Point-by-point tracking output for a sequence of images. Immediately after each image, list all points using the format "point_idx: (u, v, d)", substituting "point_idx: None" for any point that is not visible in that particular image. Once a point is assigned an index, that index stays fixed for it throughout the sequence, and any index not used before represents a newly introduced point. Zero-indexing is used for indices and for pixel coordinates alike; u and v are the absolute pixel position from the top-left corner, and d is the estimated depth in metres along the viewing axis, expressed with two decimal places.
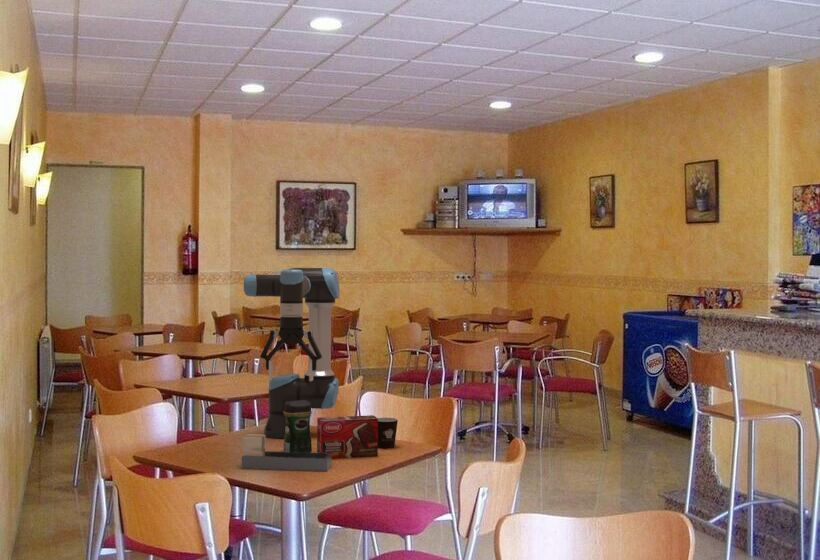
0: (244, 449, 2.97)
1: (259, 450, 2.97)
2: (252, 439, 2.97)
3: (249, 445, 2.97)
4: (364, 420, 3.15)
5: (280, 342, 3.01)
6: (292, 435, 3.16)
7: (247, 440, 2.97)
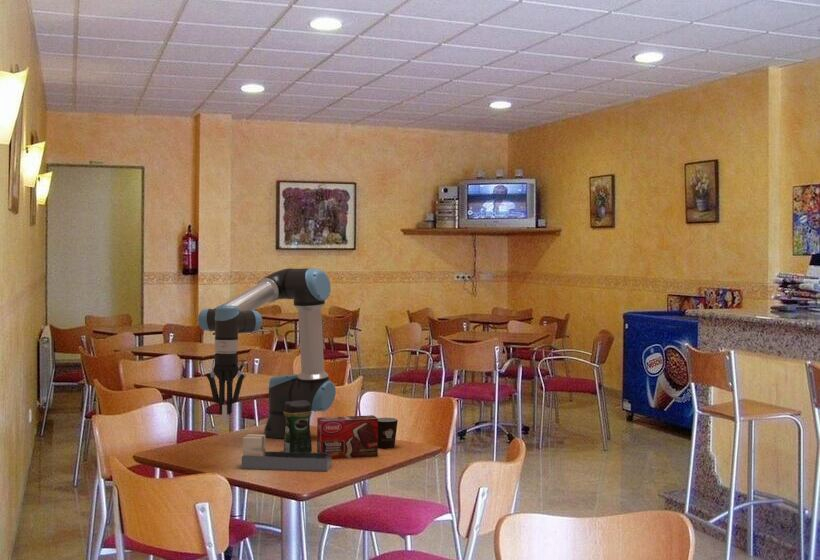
0: (244, 449, 2.97)
1: (259, 450, 2.97)
2: (252, 439, 2.97)
3: (249, 445, 2.97)
4: (364, 420, 3.15)
5: (220, 381, 2.99)
6: (292, 435, 3.16)
7: (247, 440, 2.97)
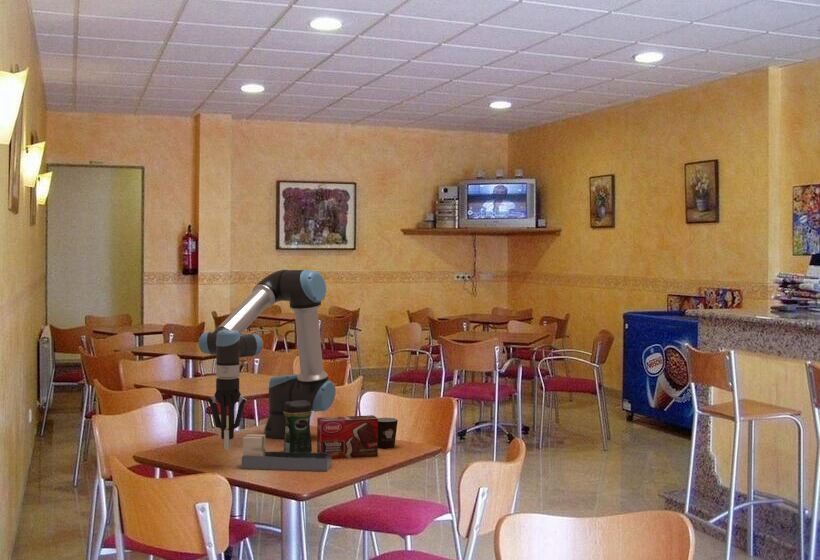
0: (244, 449, 2.97)
1: (259, 450, 2.97)
2: (252, 439, 2.97)
3: (249, 445, 2.97)
4: (364, 420, 3.15)
5: (222, 406, 2.99)
6: (292, 435, 3.16)
7: (247, 440, 2.97)
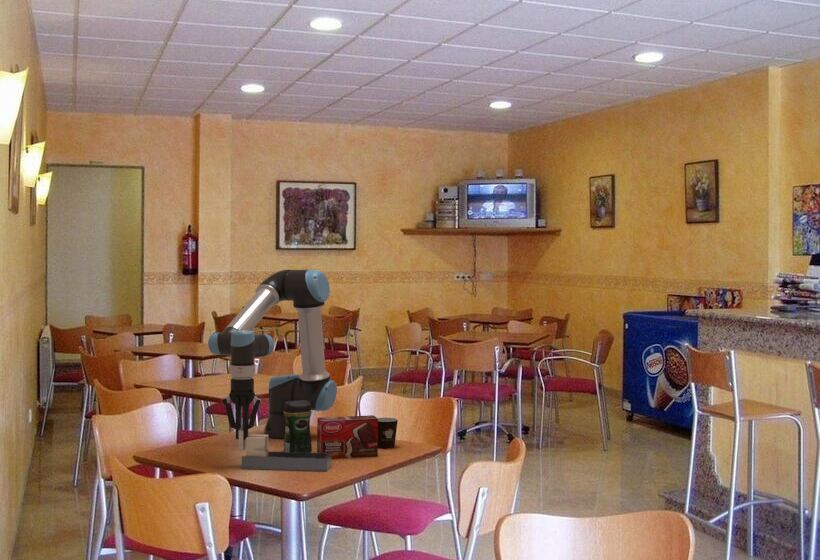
0: (247, 449, 2.97)
1: (262, 450, 2.97)
2: (255, 439, 2.97)
3: (252, 445, 2.97)
4: (364, 420, 3.15)
5: (236, 407, 2.99)
6: (292, 435, 3.16)
7: (251, 440, 2.97)
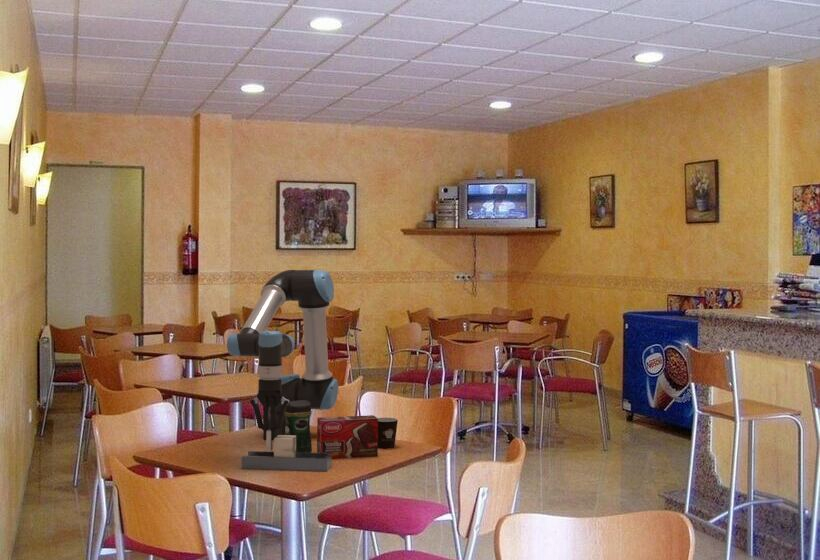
0: (275, 450, 2.97)
1: (290, 451, 2.96)
2: (283, 440, 2.96)
3: (281, 446, 2.96)
4: (364, 420, 3.15)
5: (264, 407, 2.98)
6: None
7: (279, 441, 2.96)
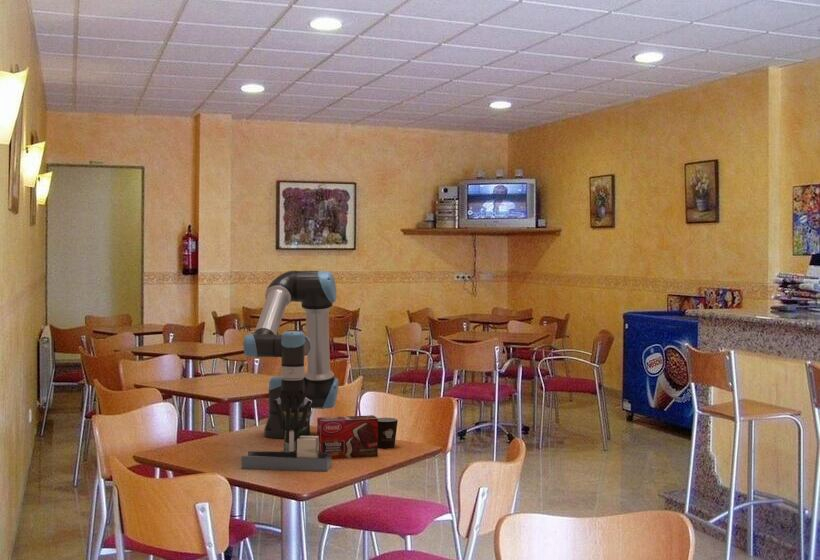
0: (298, 450, 2.96)
1: (313, 451, 2.95)
2: (306, 440, 2.96)
3: (304, 447, 2.96)
4: (364, 420, 3.15)
5: (287, 408, 2.97)
6: None
7: (302, 441, 2.96)
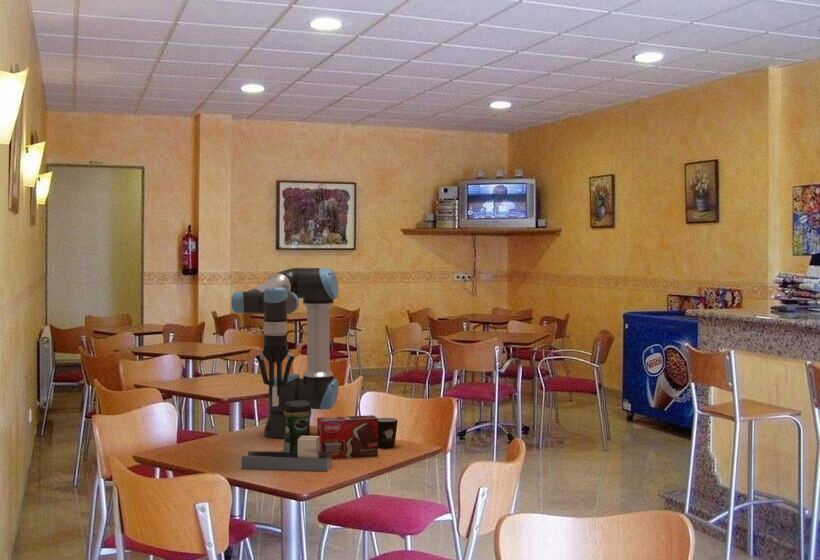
0: (299, 450, 2.96)
1: (314, 451, 2.95)
2: (307, 440, 2.96)
3: (304, 447, 2.96)
4: (364, 420, 3.15)
5: (270, 363, 2.99)
6: (292, 435, 3.16)
7: (302, 441, 2.96)
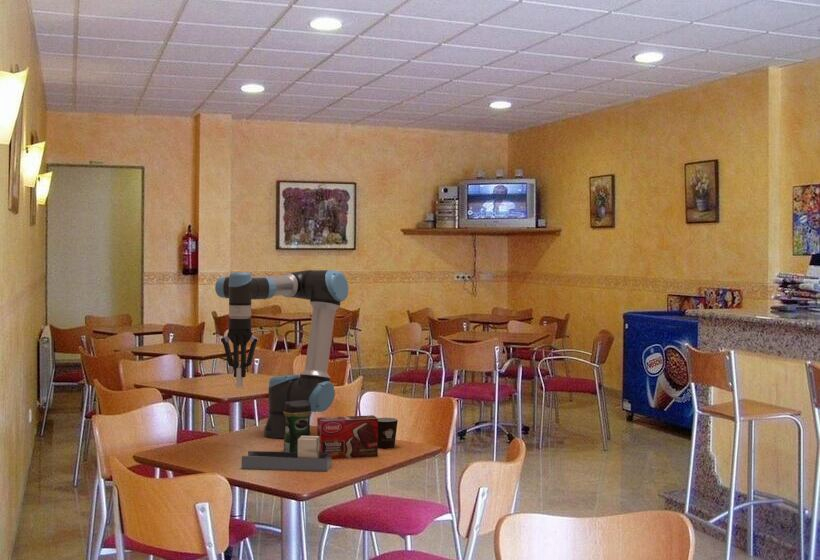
0: (299, 450, 2.96)
1: (314, 451, 2.95)
2: (307, 440, 2.96)
3: (304, 447, 2.96)
4: (364, 420, 3.15)
5: (234, 345, 3.09)
6: (292, 435, 3.16)
7: (302, 441, 2.96)
